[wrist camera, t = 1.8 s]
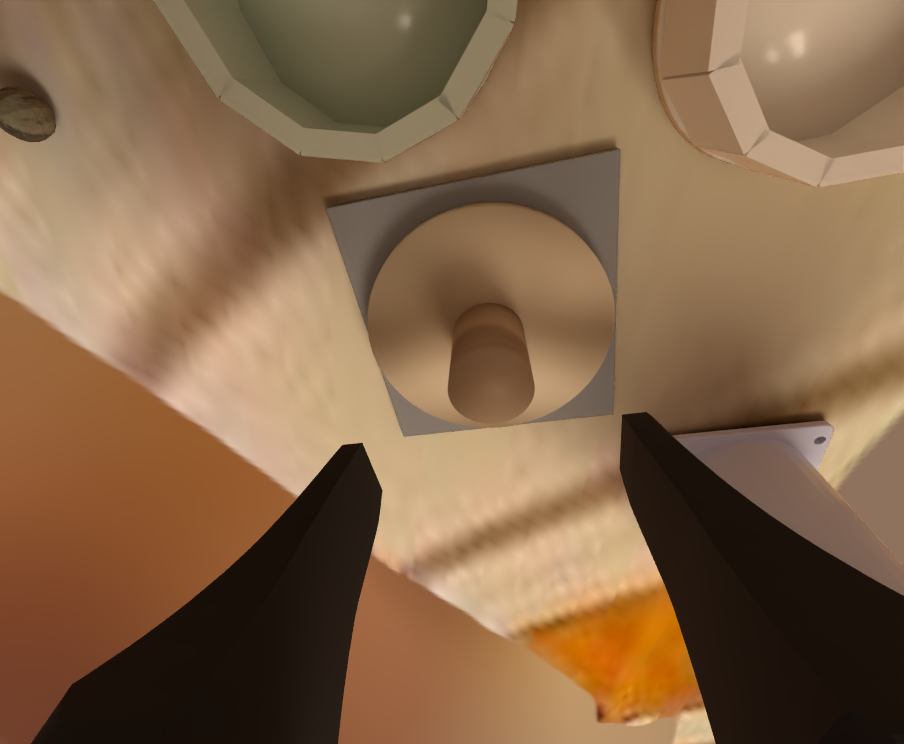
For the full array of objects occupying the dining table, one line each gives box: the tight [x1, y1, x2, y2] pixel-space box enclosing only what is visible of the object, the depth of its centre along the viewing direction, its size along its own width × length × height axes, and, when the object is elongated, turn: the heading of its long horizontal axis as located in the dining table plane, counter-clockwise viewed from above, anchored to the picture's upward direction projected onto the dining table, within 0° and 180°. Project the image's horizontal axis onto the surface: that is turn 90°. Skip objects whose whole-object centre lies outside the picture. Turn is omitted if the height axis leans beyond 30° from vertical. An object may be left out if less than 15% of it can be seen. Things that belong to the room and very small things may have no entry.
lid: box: [367, 201, 615, 428], centre depth 16 cm, size 10×10×5 cm
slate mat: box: [326, 148, 620, 437], centre depth 18 cm, size 12×11×1 cm
